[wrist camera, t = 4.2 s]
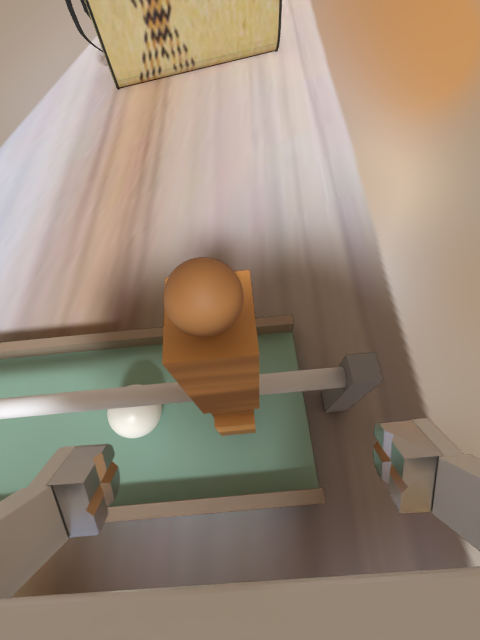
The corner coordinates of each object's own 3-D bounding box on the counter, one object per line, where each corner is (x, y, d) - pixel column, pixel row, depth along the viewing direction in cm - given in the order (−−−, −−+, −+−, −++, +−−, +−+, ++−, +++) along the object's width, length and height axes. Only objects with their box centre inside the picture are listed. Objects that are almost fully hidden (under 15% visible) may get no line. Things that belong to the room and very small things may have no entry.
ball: (167, 439, 23) (151, 431, 19) (117, 443, 23) (93, 437, 19) (168, 389, 24) (154, 375, 21) (122, 394, 24) (101, 380, 21)
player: (260, 432, 22) (261, 336, 7) (217, 436, 22) (135, 348, 7) (254, 376, 24) (246, 214, 9) (214, 380, 24) (146, 224, 9)
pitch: (366, 496, 21) (420, 504, 14) (-192, 545, 22) (-412, 577, 14) (326, 324, 27) (350, 269, 20) (-110, 366, 28) (-237, 326, 20)
